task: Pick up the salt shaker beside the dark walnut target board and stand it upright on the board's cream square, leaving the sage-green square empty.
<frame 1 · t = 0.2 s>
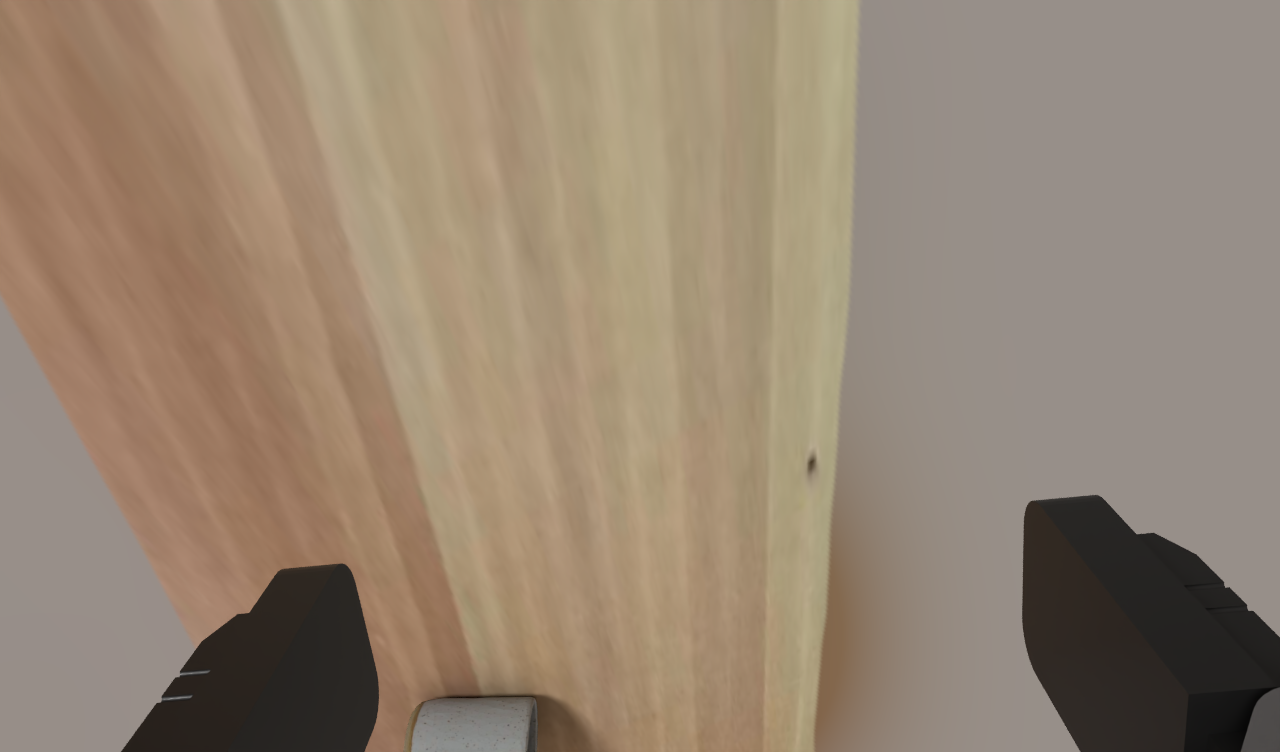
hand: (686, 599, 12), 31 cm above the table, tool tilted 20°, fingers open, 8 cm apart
ceramic mug: (484, 714, 69), on the table
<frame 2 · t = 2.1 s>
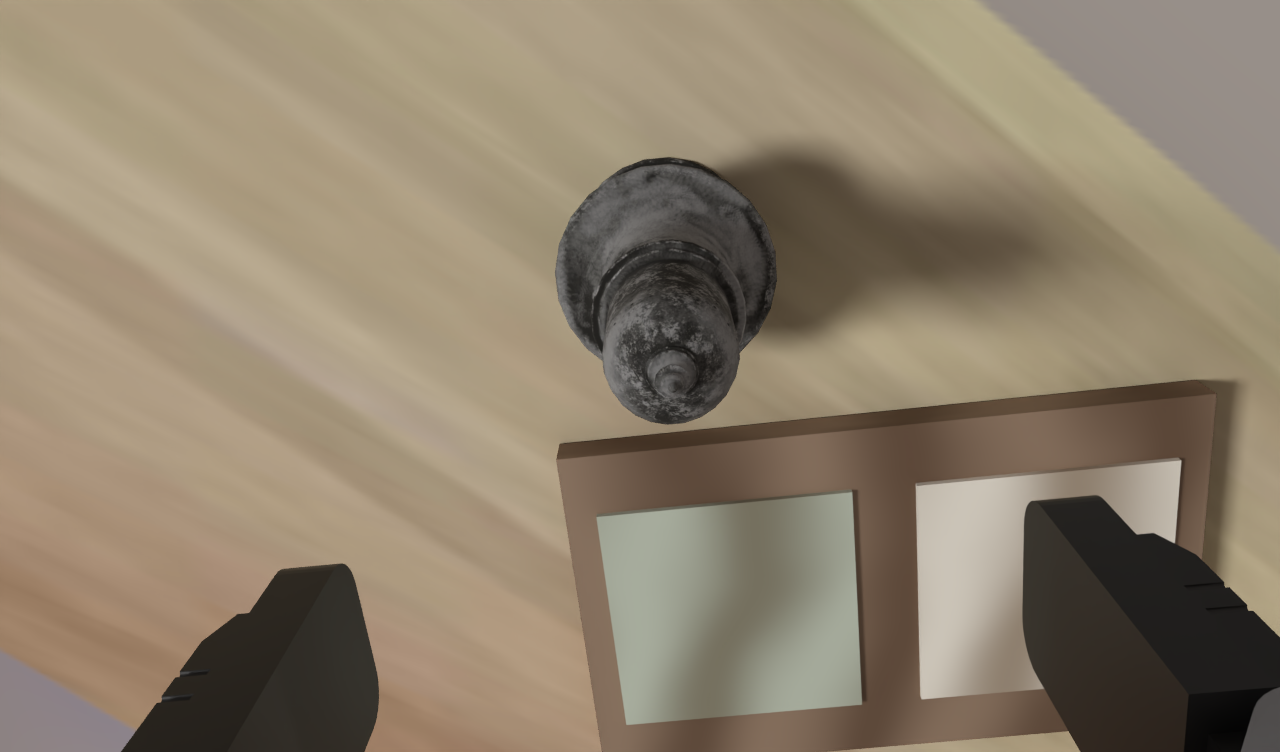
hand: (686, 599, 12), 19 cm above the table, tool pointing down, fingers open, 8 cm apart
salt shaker: (664, 245, 30), on the table
target board: (879, 577, 34), on the table
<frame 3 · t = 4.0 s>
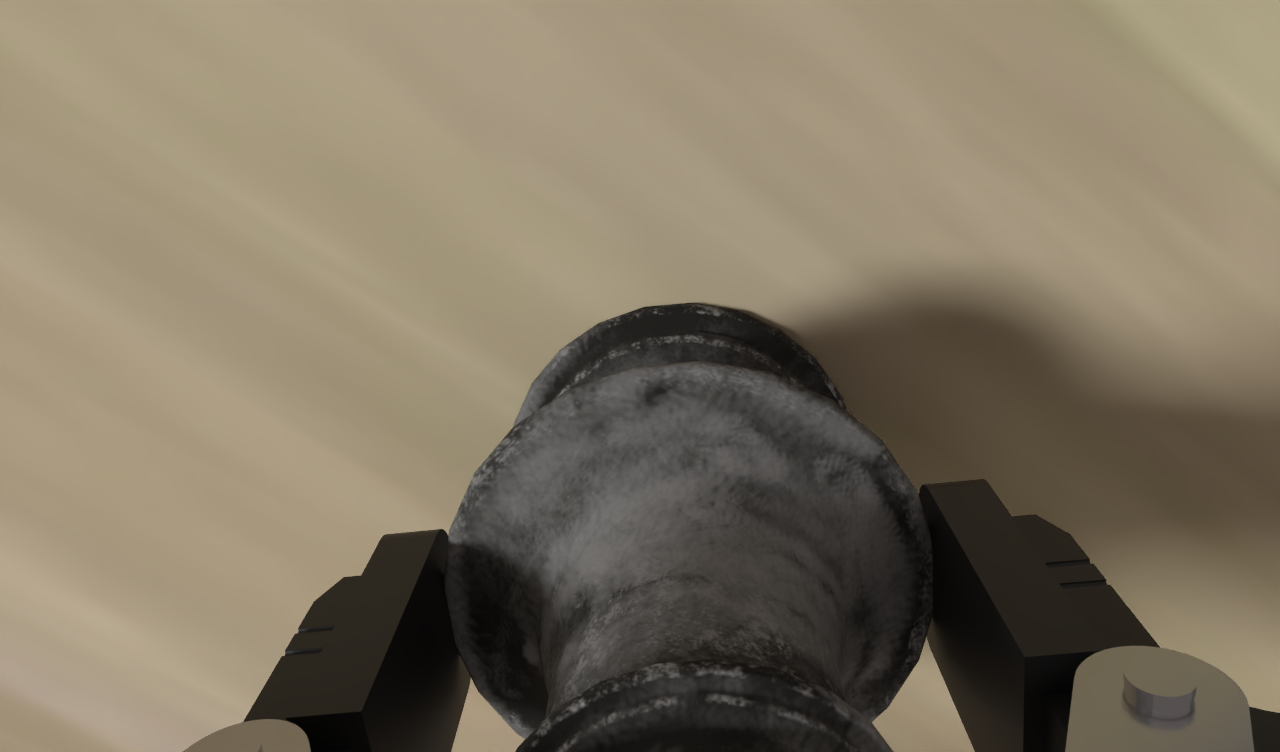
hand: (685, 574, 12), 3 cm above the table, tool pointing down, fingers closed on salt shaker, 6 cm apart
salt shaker: (681, 464, 15), on the table, touching gripper
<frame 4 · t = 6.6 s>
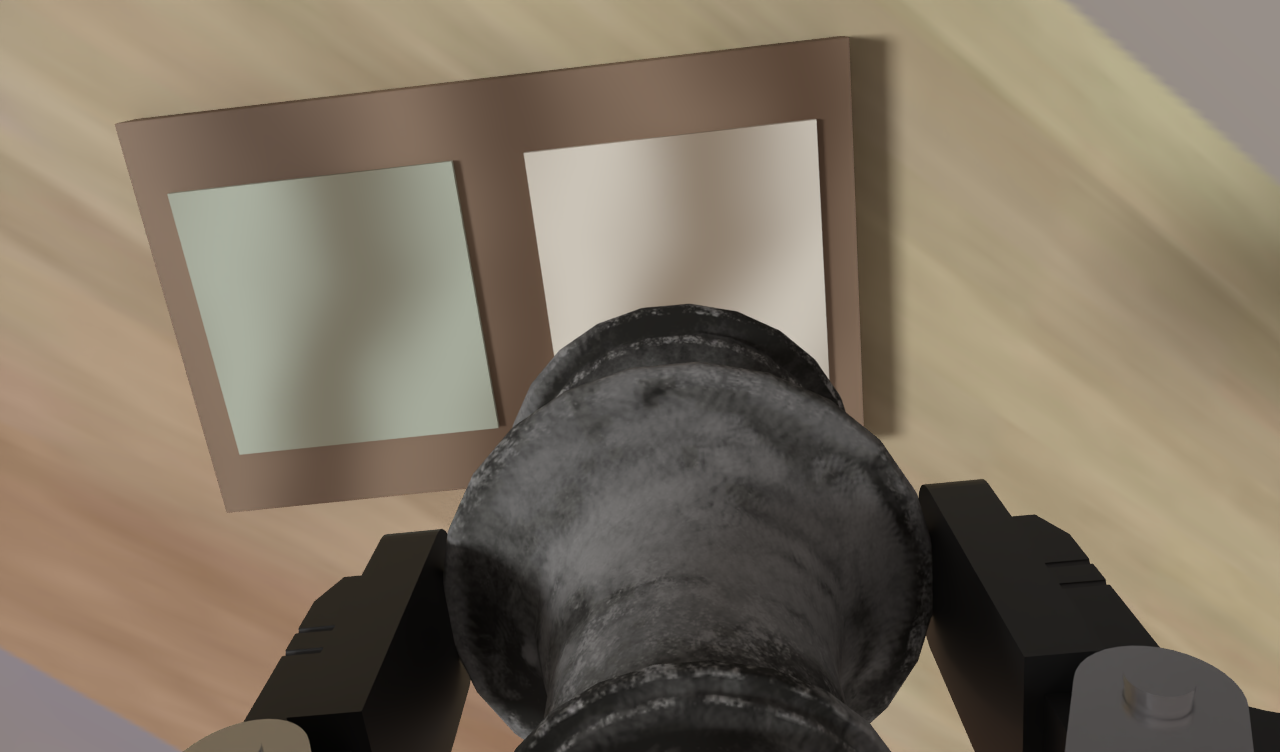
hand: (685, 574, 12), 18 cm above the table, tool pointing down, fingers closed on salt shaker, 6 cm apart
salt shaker: (680, 465, 15), point 15 cm above the table, touching gripper
target board: (516, 284, 30), on the table
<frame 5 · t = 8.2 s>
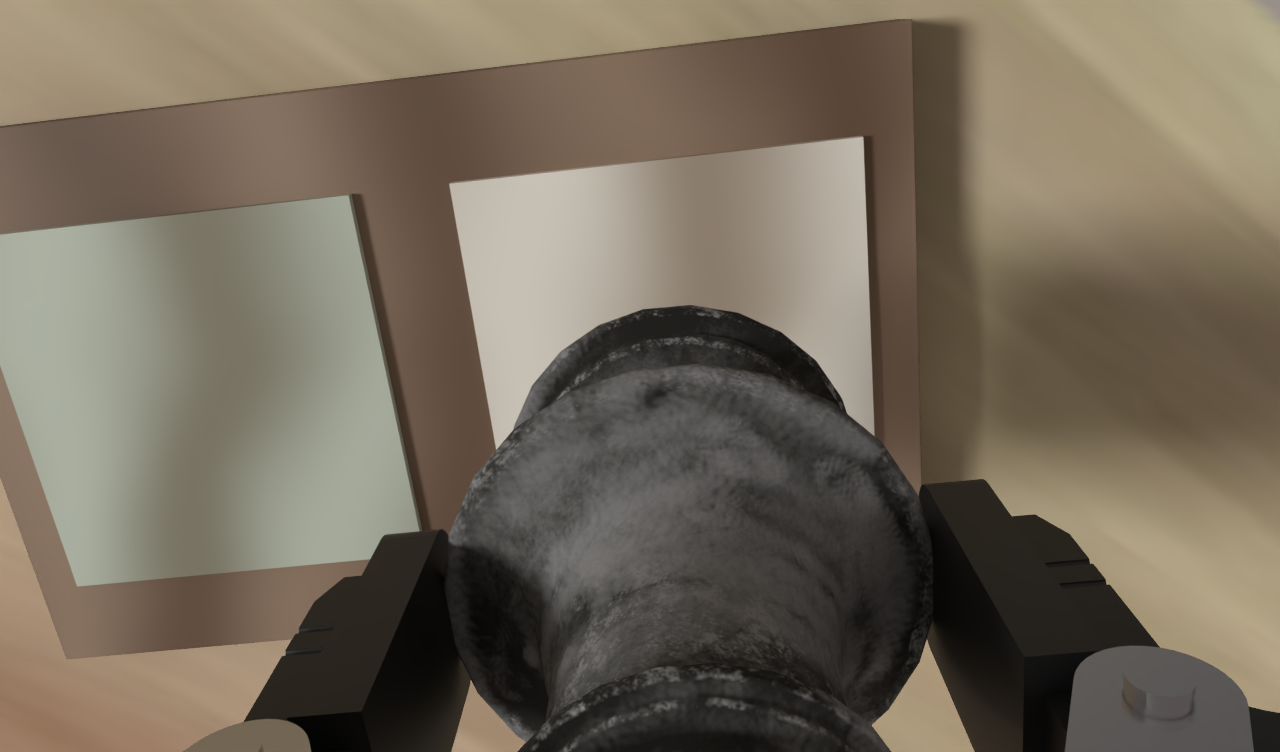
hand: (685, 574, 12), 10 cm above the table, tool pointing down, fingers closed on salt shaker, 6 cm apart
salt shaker: (681, 466, 15), point 7 cm above the table, touching gripper
target board: (449, 359, 22), on the table
when the fingers open (5 cm above the table, at t = 9.6 s): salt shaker stays where it is, resting on target board.
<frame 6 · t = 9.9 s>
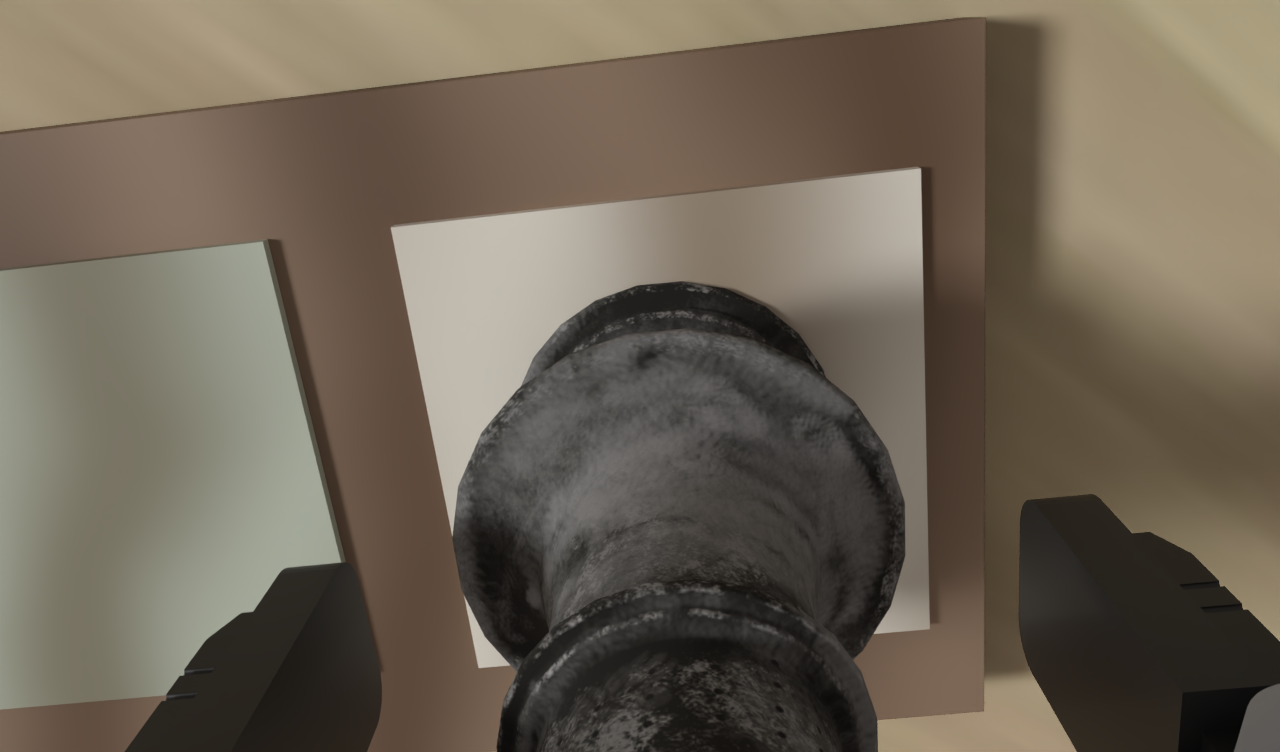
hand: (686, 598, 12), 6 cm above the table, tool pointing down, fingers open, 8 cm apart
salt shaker: (674, 434, 16), point 1 cm above the table, touching target board
target board: (399, 438, 18), on the table
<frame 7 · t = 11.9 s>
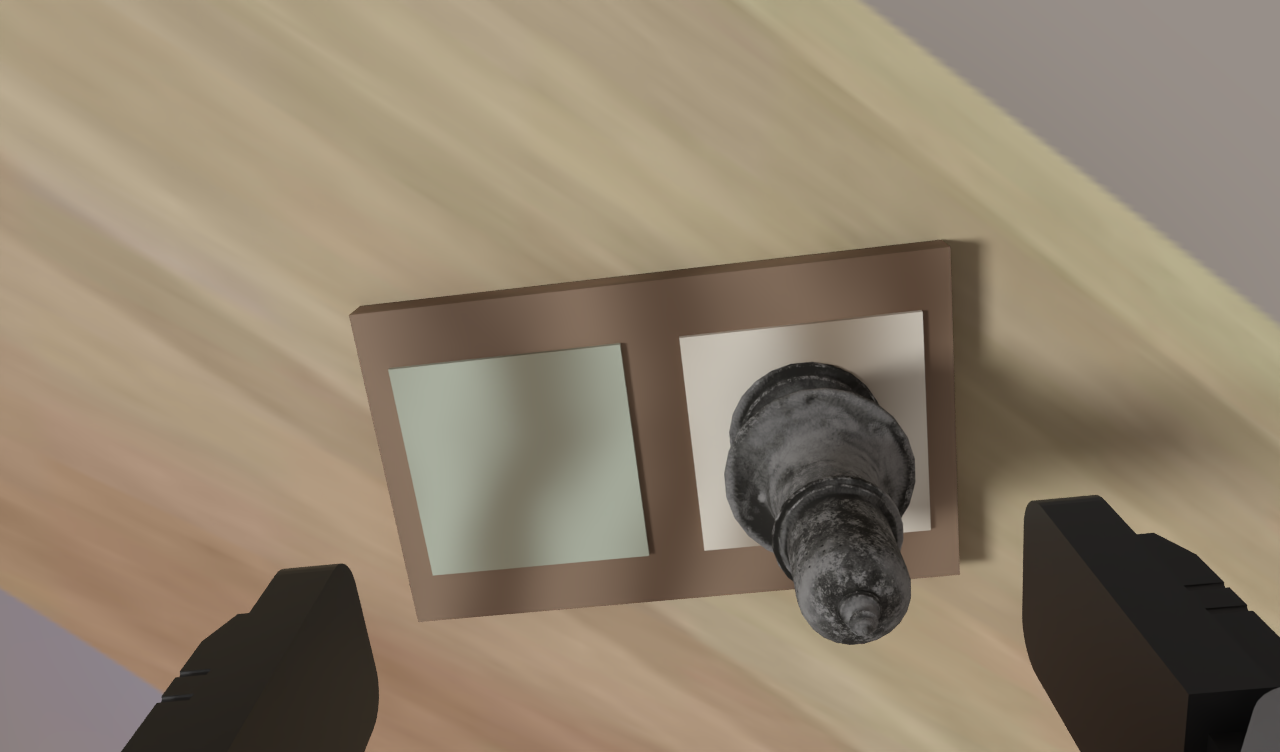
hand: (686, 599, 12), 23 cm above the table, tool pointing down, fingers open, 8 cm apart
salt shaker: (805, 432, 34), point 1 cm above the table, touching target board
target board: (664, 435, 36), on the table
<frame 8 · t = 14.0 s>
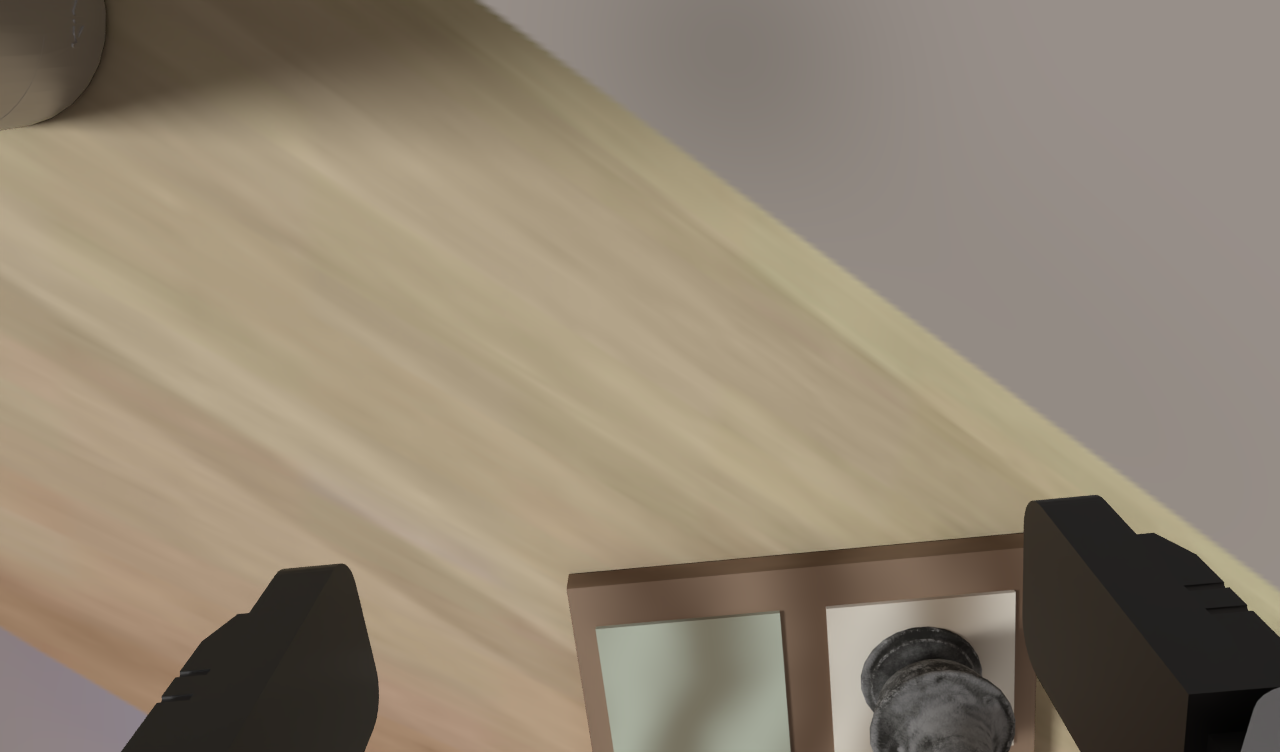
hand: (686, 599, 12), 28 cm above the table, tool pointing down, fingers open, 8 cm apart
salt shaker: (919, 675, 44), point 1 cm above the table, touching target board
target board: (804, 669, 45), on the table
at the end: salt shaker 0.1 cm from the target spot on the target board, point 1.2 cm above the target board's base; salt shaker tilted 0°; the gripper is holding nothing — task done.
